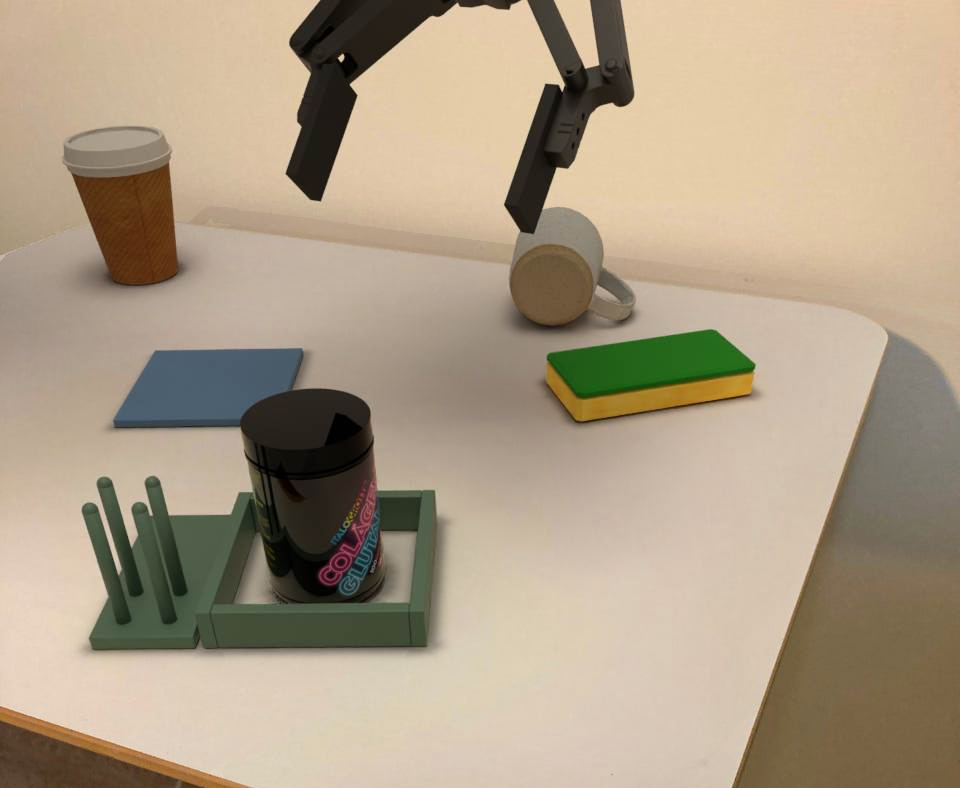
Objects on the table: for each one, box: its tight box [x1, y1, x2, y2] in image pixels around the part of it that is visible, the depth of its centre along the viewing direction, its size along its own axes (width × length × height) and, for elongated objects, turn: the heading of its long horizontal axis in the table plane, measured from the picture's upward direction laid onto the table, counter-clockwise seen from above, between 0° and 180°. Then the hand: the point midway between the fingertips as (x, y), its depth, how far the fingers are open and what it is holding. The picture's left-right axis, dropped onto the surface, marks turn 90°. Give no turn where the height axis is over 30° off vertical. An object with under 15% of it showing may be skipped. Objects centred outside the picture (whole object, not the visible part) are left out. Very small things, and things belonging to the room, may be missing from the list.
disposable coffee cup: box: [61, 125, 179, 286], centre depth 95 cm, size 10×10×12 cm
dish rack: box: [81, 475, 438, 650], centre depth 57 cm, size 18×12×8 cm, turn 89°
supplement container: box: [239, 387, 386, 604], centre depth 57 cm, size 7×7×10 cm
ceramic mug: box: [508, 206, 637, 327], centre depth 87 cm, size 11×8×8 cm
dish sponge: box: [545, 328, 757, 422], centre depth 77 cm, size 7×14×2 cm, turn 106°
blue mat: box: [112, 347, 304, 428], centre depth 79 cm, size 12×12×1 cm
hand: (405, 204), depth 56 cm, fingers open, 13 cm apart
